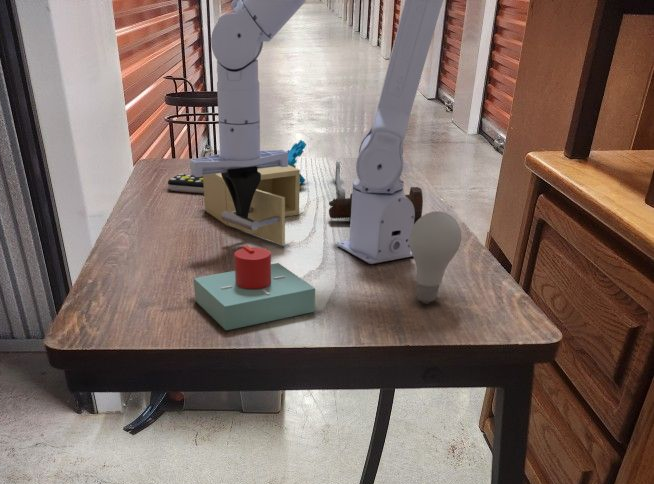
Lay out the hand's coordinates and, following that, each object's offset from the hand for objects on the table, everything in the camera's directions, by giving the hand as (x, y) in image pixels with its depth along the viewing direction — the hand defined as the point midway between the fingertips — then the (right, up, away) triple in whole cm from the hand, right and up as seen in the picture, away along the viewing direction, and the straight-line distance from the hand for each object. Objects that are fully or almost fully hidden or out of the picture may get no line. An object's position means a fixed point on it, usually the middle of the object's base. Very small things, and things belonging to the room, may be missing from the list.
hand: (241, 222), depth 100 cm
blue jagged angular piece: (+7, +20, +30) cm, 36 cm away
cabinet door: (0, -1, +3) cm, 3 cm away
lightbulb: (+24, -17, -16) cm, 34 cm away
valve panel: (+2, -18, -17) cm, 24 cm away
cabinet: (+1, +8, +15) cm, 17 cm away
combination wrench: (+17, +16, +25) cm, 34 cm away
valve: (+2, -15, -19) cm, 24 cm away
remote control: (-9, +17, +27) cm, 33 cm away
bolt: (+22, +5, +11) cm, 25 cm away
